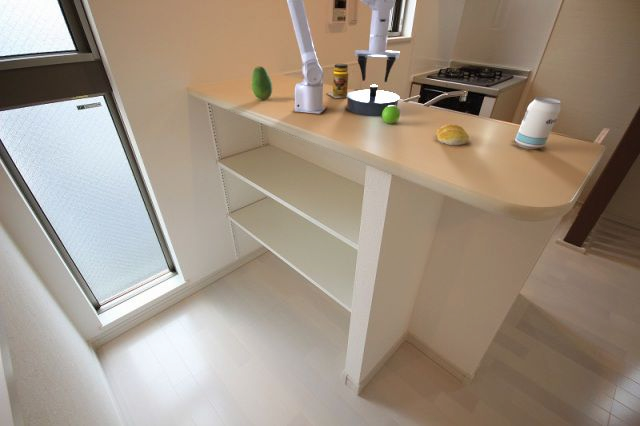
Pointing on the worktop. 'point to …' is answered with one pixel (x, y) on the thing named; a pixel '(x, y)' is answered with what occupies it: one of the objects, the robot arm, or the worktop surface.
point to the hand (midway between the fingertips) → (374, 80)
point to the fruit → (261, 83)
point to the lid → (373, 96)
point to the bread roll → (452, 135)
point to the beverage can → (538, 123)
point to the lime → (391, 114)
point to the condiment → (340, 81)
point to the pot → (367, 108)
